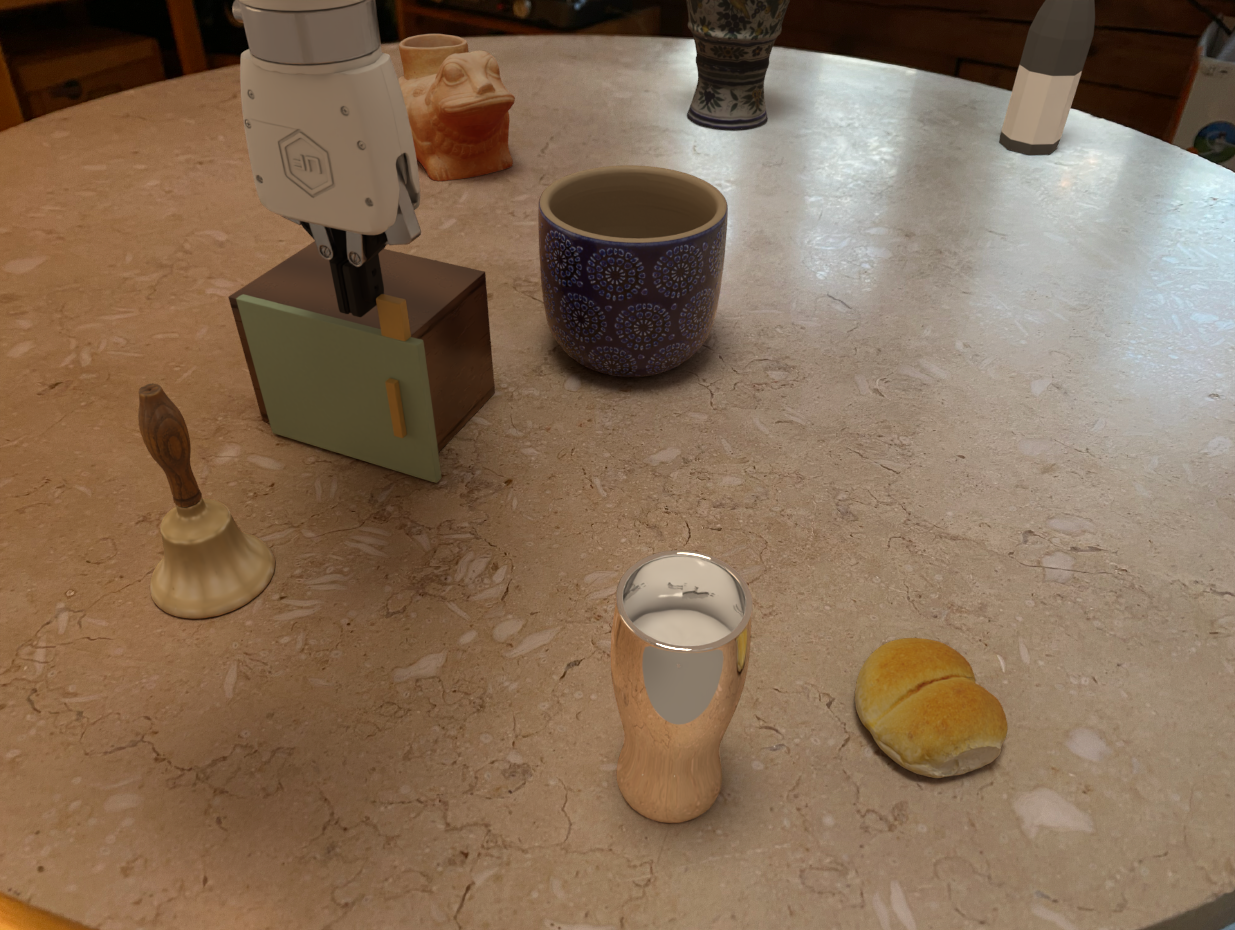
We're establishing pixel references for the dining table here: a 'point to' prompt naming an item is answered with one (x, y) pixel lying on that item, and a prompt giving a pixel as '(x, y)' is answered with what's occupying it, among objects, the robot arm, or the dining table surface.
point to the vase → (732, 60)
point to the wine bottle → (1048, 76)
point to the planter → (631, 266)
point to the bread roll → (929, 708)
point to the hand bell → (197, 528)
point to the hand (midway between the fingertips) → (362, 305)
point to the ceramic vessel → (455, 107)
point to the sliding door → (346, 383)
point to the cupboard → (438, 314)
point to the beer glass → (677, 678)
